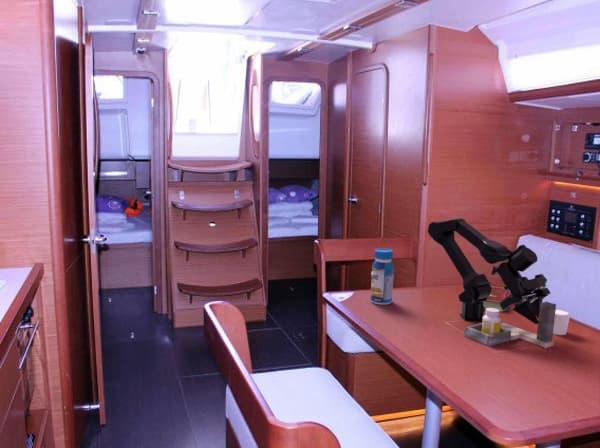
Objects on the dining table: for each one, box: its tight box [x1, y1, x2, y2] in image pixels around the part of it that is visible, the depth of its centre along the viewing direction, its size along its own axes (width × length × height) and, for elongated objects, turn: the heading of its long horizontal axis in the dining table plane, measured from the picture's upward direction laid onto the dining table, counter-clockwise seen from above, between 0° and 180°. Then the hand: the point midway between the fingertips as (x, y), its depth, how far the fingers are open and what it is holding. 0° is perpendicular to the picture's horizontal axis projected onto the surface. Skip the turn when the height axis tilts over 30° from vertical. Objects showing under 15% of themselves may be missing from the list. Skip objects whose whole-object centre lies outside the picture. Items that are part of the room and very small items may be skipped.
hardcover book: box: [483, 285, 509, 312], centre depth 209 cm, size 12×21×4 cm, turn 157°
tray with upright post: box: [464, 301, 557, 349], centre depth 169 cm, size 19×18×13 cm
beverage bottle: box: [370, 247, 395, 306], centre depth 204 cm, size 8×8×20 cm
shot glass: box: [553, 308, 571, 336], centre depth 178 cm, size 7×7×7 cm
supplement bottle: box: [481, 308, 502, 335], centre depth 170 cm, size 5×5×10 cm
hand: (540, 322), depth 168 cm, fingers closed on tray with upright post, 3 cm apart
